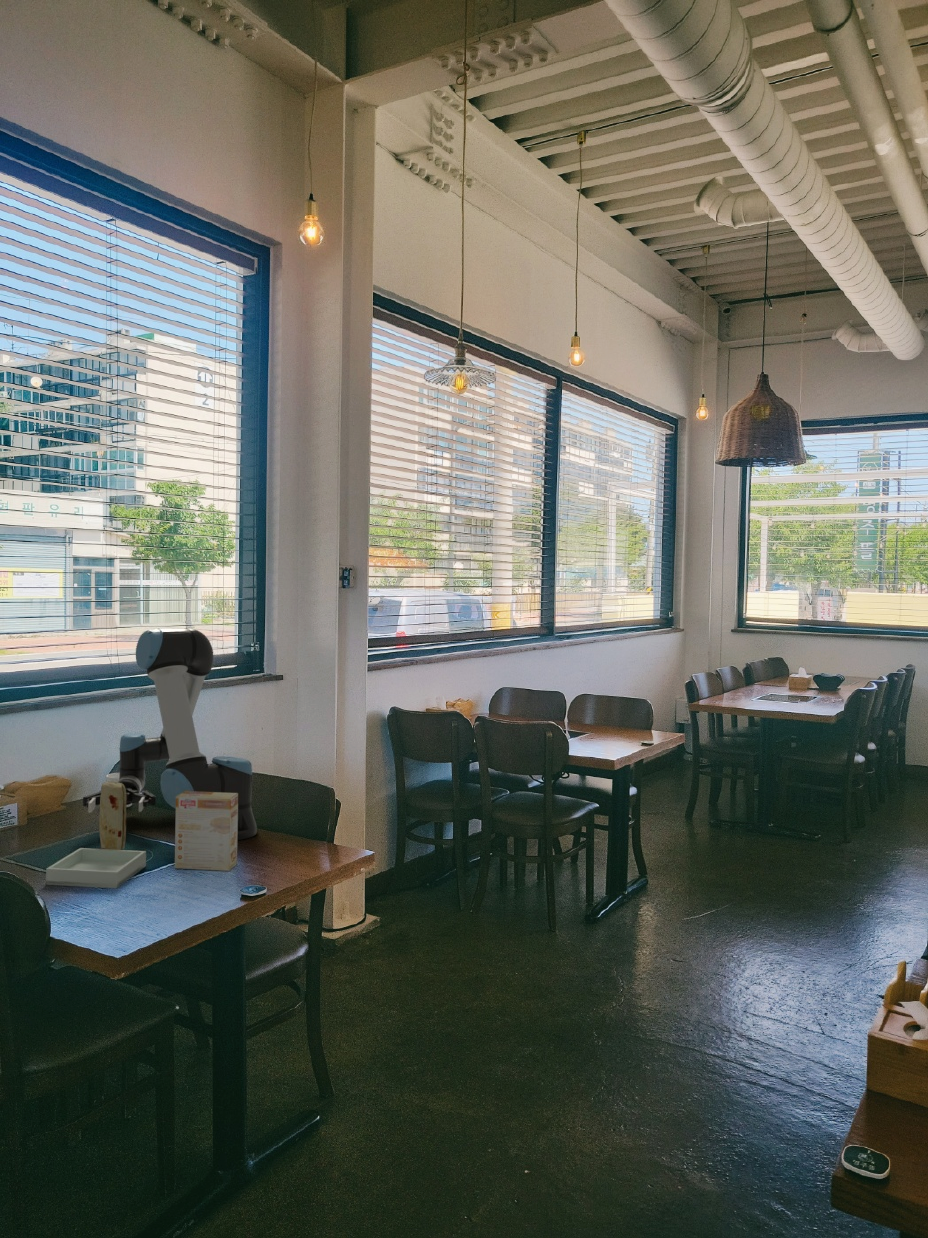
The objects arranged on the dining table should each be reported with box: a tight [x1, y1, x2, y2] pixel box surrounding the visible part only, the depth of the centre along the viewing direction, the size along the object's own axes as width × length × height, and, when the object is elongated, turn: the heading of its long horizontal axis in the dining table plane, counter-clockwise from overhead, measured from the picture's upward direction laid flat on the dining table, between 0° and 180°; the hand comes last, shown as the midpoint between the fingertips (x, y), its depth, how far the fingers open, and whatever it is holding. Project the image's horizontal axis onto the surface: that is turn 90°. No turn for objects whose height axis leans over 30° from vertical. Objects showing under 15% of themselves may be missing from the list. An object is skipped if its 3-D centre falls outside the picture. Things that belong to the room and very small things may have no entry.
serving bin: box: [45, 847, 147, 889], centre depth 240 cm, size 18×18×4 cm
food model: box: [98, 781, 127, 850], centre depth 259 cm, size 10×7×20 cm
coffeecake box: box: [174, 791, 238, 872], centre depth 250 cm, size 15×7×20 cm, turn 86°
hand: (114, 807), depth 266 cm, fingers open, 13 cm apart
